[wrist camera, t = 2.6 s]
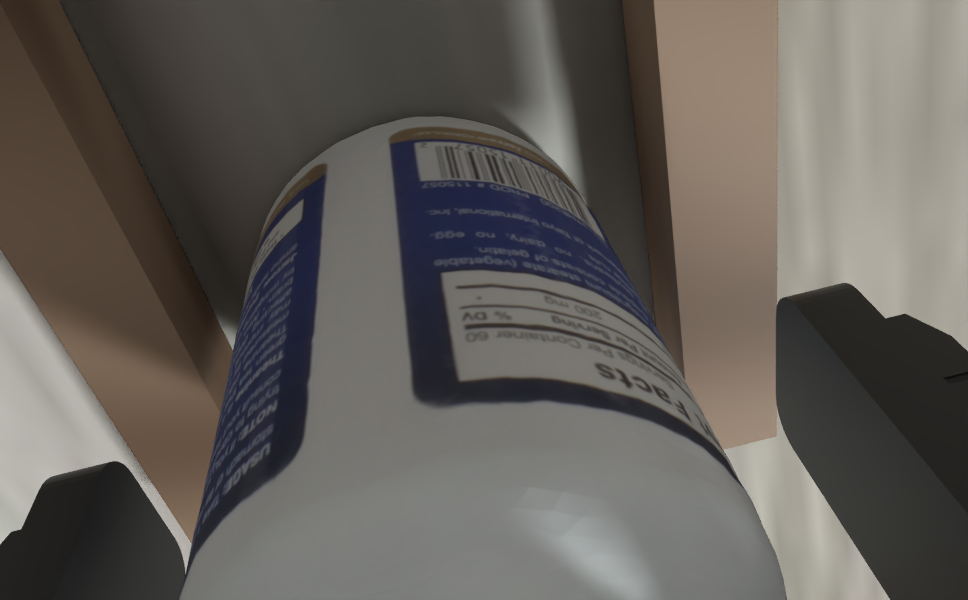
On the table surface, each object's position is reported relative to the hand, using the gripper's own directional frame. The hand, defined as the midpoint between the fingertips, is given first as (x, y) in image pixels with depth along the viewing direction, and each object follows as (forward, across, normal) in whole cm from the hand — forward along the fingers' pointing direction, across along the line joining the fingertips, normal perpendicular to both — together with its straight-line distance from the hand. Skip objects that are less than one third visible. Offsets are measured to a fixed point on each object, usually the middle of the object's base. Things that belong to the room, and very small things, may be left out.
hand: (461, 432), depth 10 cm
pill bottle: (+4, 0, 0) cm, 4 cm away
